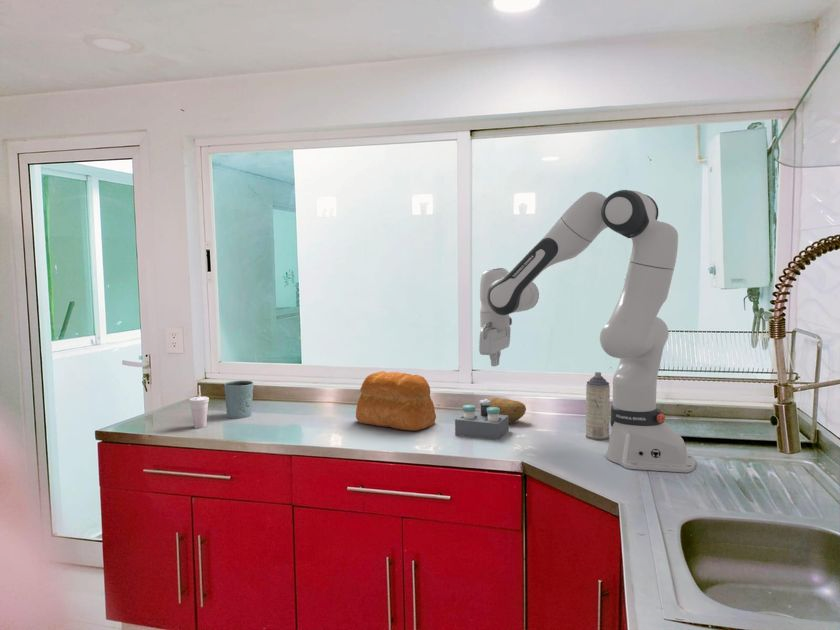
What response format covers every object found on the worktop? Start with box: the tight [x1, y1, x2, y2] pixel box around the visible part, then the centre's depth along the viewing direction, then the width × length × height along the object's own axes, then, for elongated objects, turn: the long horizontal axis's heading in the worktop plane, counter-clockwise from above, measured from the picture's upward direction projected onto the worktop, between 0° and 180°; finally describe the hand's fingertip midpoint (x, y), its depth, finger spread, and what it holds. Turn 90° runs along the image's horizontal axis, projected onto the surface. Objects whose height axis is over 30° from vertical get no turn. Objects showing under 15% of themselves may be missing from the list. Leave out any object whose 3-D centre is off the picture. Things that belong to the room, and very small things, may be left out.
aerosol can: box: [585, 371, 611, 441], centre depth 181 cm, size 7×7×20 cm
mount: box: [454, 398, 510, 441], centre depth 187 cm, size 14×11×10 cm
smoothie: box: [188, 385, 210, 429], centre depth 199 cm, size 6×6×14 cm
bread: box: [355, 370, 437, 432], centre depth 201 cm, size 16×26×17 cm, turn 58°
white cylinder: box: [462, 404, 476, 419], centre depth 188 cm, size 4×4×7 cm
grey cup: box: [223, 380, 254, 420], centre depth 214 cm, size 10×10×12 cm
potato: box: [487, 397, 527, 423], centre depth 200 cm, size 10×14×8 cm
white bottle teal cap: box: [487, 407, 500, 422], centre depth 185 cm, size 4×4×7 cm
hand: (495, 365), depth 184 cm, fingers closed
